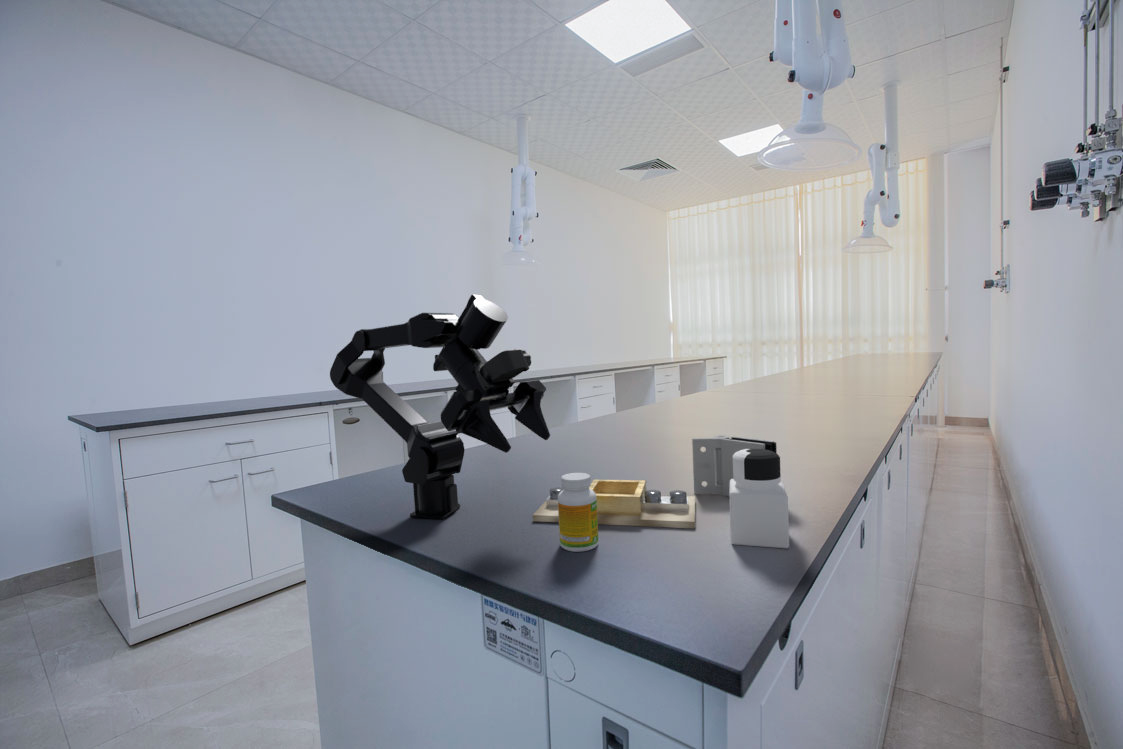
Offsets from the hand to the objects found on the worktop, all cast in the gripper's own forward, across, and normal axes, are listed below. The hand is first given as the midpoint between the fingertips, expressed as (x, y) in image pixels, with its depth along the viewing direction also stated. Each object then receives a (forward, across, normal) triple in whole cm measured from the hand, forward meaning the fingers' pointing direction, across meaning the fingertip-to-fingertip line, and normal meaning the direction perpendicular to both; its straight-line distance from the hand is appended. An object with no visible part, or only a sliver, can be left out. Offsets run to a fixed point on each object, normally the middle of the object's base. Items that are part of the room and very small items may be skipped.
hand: (529, 444), depth 73 cm
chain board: (+14, +14, +5) cm, 20 cm away
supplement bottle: (+15, 0, +4) cm, 16 cm away
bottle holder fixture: (+14, +14, +5) cm, 20 cm away
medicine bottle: (+30, +14, -10) cm, 35 cm away
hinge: (+24, +30, -5) cm, 39 cm away
